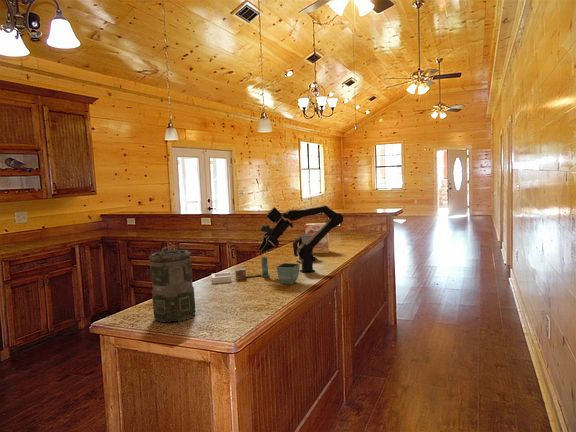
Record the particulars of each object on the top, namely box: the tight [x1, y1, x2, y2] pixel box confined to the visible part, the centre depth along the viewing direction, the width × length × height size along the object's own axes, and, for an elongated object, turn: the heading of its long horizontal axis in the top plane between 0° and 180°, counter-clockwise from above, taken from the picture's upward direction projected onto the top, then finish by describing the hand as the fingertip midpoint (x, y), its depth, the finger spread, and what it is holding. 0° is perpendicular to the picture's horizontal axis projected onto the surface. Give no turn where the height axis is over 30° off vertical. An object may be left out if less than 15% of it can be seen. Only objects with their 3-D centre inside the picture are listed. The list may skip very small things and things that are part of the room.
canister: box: [148, 244, 197, 323], centre depth 166 cm, size 16×16×28 cm
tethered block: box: [234, 256, 271, 281], centre depth 226 cm, size 18×5×10 cm, turn 103°
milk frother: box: [292, 233, 318, 262], centre depth 264 cm, size 14×16×15 cm
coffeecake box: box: [304, 222, 330, 254], centre depth 287 cm, size 15×7×20 cm, turn 81°
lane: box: [211, 271, 232, 284], centre depth 223 cm, size 10×10×3 cm
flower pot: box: [276, 262, 300, 285], centre depth 209 cm, size 9×9×9 cm
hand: (260, 251), depth 226 cm, fingers open, 9 cm apart
